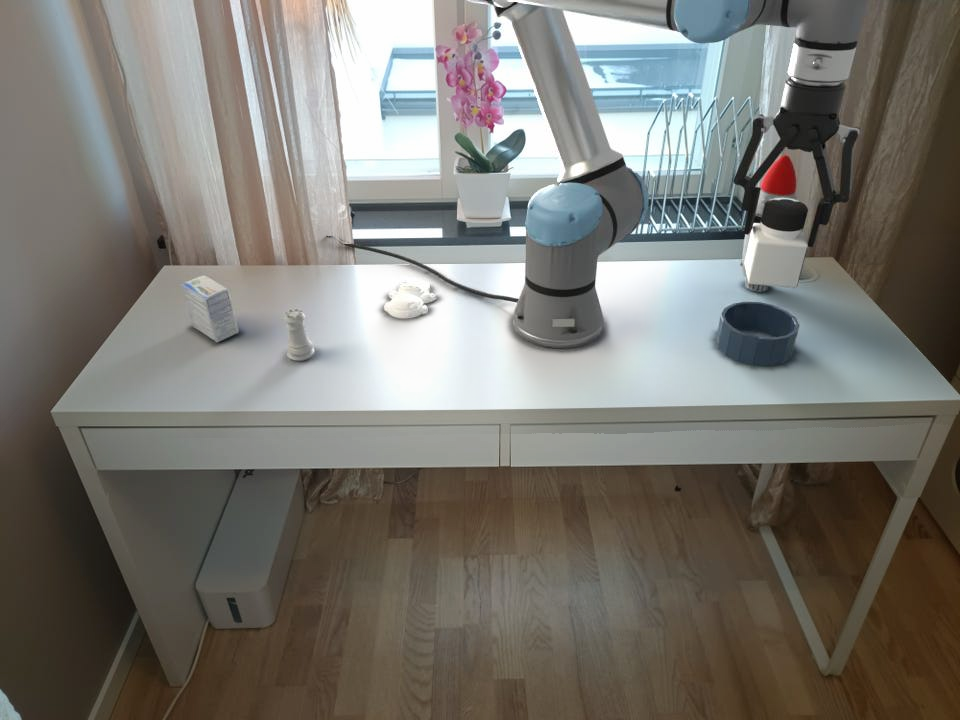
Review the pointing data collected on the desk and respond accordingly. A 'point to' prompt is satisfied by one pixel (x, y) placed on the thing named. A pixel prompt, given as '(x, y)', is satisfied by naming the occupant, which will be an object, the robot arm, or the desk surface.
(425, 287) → the astronaut figurine
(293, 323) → the rook chess piece
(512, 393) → the desk surface
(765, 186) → the toy rocket
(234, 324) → the medicine box
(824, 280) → the desk surface
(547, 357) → the desk surface
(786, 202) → the medicine bottle
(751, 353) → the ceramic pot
